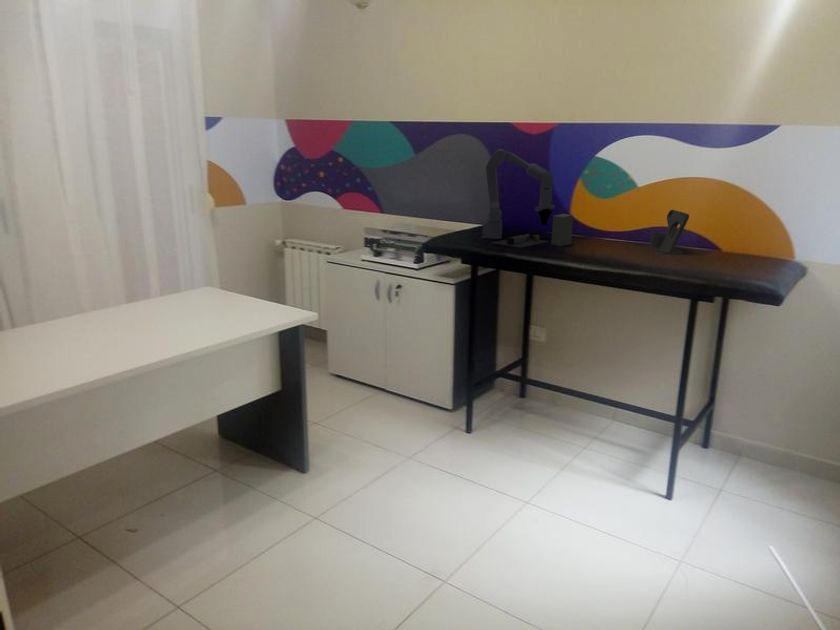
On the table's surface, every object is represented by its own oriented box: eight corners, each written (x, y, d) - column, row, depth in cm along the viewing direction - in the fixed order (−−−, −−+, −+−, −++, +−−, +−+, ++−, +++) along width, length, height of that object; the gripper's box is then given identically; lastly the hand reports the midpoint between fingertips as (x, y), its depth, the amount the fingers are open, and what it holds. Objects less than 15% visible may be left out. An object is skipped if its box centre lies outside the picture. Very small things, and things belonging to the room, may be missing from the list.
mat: (490, 244, 295) (490, 242, 294) (519, 238, 311) (519, 236, 311) (520, 249, 283) (520, 247, 282) (549, 242, 299) (549, 241, 299)
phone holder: (648, 247, 290) (652, 209, 285) (668, 246, 291) (673, 209, 285) (664, 254, 273) (669, 214, 268) (686, 254, 274) (691, 213, 269)
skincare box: (561, 244, 296) (563, 213, 292) (571, 246, 292) (574, 214, 287) (550, 246, 291) (552, 214, 287) (560, 247, 286) (562, 216, 282)
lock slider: (531, 240, 300) (532, 235, 299) (535, 239, 302) (535, 234, 301) (535, 240, 298) (536, 236, 298) (539, 239, 300) (539, 235, 300)
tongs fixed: (506, 244, 290) (506, 237, 289) (526, 240, 301) (526, 233, 301) (510, 245, 289) (511, 238, 288) (530, 240, 300) (530, 234, 299)
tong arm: (509, 244, 289) (509, 238, 288) (524, 240, 298) (525, 235, 297) (511, 244, 288) (511, 238, 288) (526, 241, 297) (526, 235, 297)
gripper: (544, 198, 291) (542, 227, 295) (560, 196, 301) (559, 224, 305) (532, 197, 296) (530, 225, 300) (548, 195, 306) (547, 222, 310)
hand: (544, 224), depth 303 cm, fingers closed
